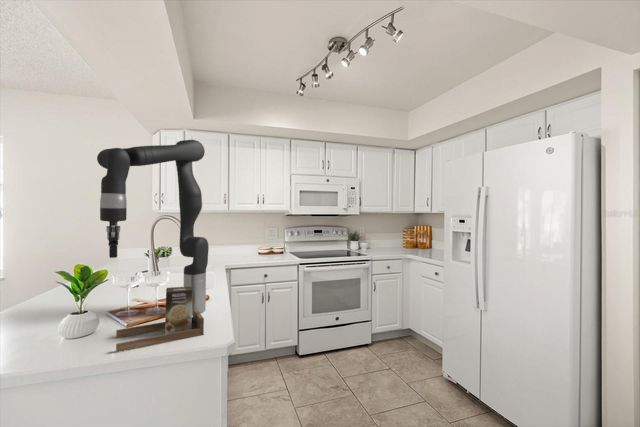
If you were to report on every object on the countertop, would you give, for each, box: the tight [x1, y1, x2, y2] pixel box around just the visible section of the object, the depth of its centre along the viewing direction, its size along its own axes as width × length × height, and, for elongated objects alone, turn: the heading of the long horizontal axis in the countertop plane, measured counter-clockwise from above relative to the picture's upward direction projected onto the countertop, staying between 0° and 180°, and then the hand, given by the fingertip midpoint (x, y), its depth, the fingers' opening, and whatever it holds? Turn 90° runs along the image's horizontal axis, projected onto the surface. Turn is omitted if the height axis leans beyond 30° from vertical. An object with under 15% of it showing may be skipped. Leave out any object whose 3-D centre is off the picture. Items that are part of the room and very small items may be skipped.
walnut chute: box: [115, 308, 205, 353], centre depth 110 cm, size 14×27×6 cm, turn 123°
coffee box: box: [164, 286, 193, 334], centre depth 115 cm, size 9×6×16 cm
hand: (113, 257), depth 105 cm, fingers closed
